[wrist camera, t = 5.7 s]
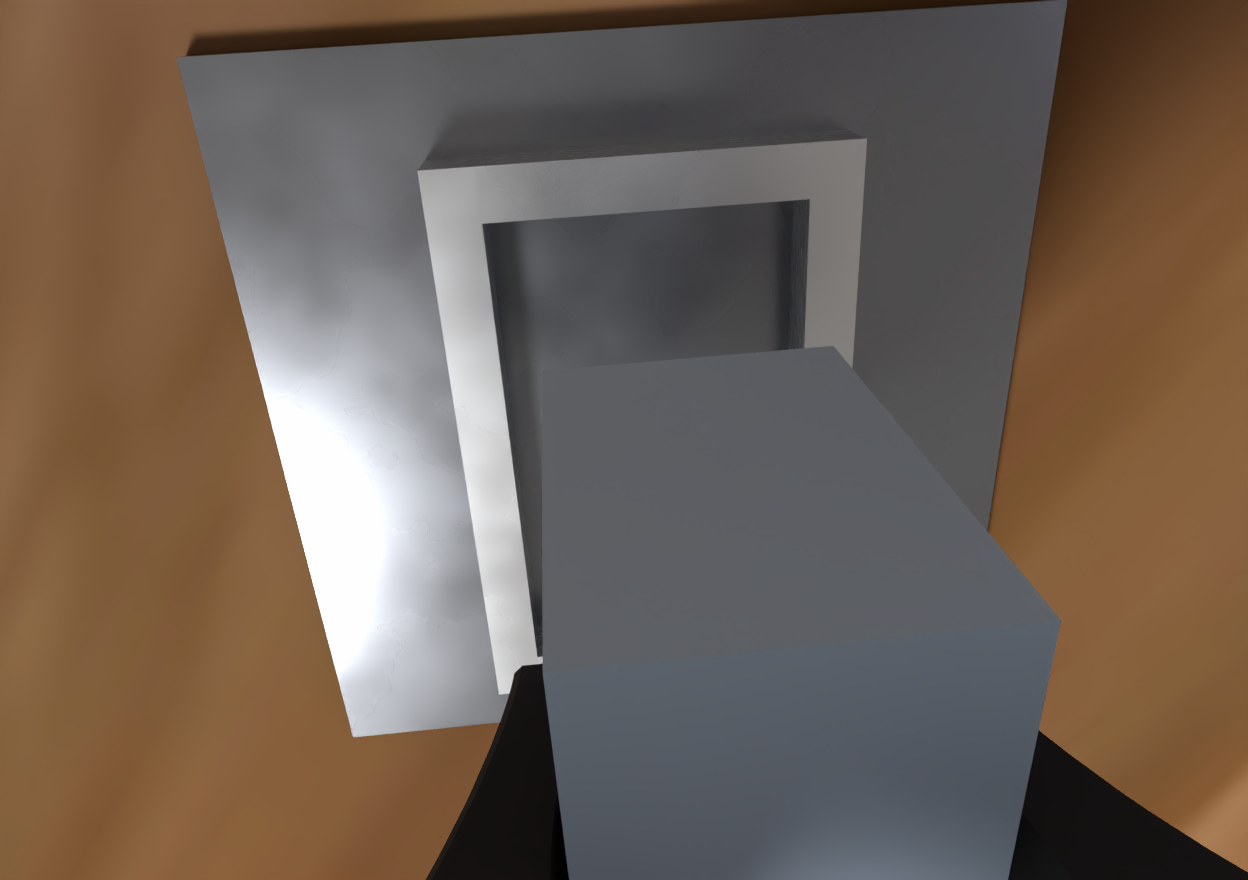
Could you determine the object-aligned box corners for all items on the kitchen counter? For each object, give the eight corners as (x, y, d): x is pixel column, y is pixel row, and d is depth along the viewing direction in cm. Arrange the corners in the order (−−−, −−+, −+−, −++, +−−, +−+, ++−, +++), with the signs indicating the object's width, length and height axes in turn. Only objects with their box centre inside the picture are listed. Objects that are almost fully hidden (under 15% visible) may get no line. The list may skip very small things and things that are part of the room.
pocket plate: (1056, -1, 17) (1147, 0, 14) (958, 664, 24) (1007, 742, 21) (184, 56, 16) (118, 67, 13) (356, 725, 23) (333, 814, 21)
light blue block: (811, 768, 16) (949, 1163, 10) (586, 793, 16) (611, 1207, 10) (833, 345, 12) (1060, 620, 7) (541, 371, 12) (542, 672, 7)
